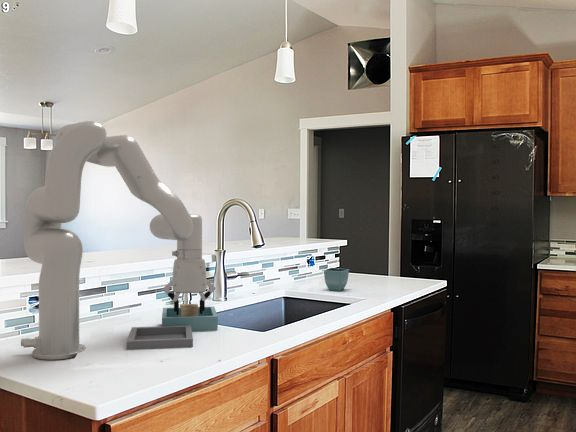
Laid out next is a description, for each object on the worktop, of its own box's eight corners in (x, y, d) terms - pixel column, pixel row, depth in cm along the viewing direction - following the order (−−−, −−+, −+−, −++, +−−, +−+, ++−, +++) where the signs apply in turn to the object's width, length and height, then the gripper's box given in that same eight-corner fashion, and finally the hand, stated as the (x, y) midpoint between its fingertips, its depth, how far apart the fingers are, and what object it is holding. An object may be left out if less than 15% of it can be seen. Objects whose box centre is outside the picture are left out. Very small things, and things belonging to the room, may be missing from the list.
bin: (126, 353, 148) (126, 341, 148) (131, 337, 164) (131, 327, 164) (192, 350, 151) (192, 339, 151) (191, 335, 168) (191, 325, 167)
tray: (161, 335, 168) (161, 318, 168) (162, 323, 183) (163, 307, 183) (217, 333, 171) (217, 316, 171) (214, 321, 186) (214, 306, 186)
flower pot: (342, 292, 248) (342, 271, 248) (323, 290, 252) (323, 270, 252) (349, 289, 256) (349, 269, 256) (330, 287, 260) (330, 267, 260)
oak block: (181, 327, 174) (181, 307, 174) (180, 323, 179) (180, 304, 179) (198, 326, 175) (198, 306, 175) (197, 323, 180) (197, 303, 180)
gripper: (160, 256, 171) (159, 317, 172) (219, 255, 174) (218, 315, 175) (160, 254, 178) (160, 312, 179) (217, 253, 182) (217, 310, 182)
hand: (189, 313), depth 177 cm, fingers open, 6 cm apart
